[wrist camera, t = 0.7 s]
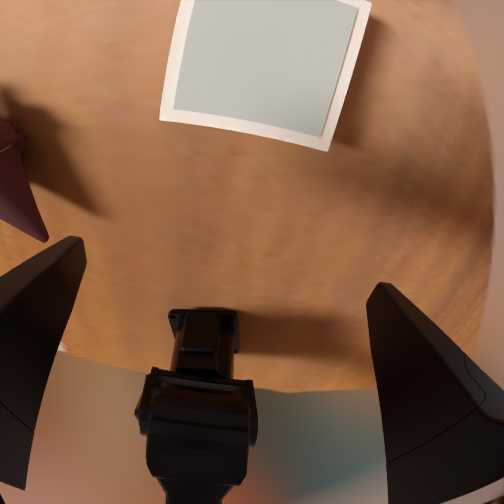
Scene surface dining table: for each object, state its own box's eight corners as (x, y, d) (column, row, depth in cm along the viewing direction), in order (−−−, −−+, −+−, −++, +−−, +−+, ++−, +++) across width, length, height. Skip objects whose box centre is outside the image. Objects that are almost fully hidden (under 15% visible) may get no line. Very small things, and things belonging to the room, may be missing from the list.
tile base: (315, 137, 17) (328, 152, 15) (172, 109, 16) (158, 120, 13) (352, 9, 12) (373, 2, 9) (200, -25, 11) (191, -40, 8)
